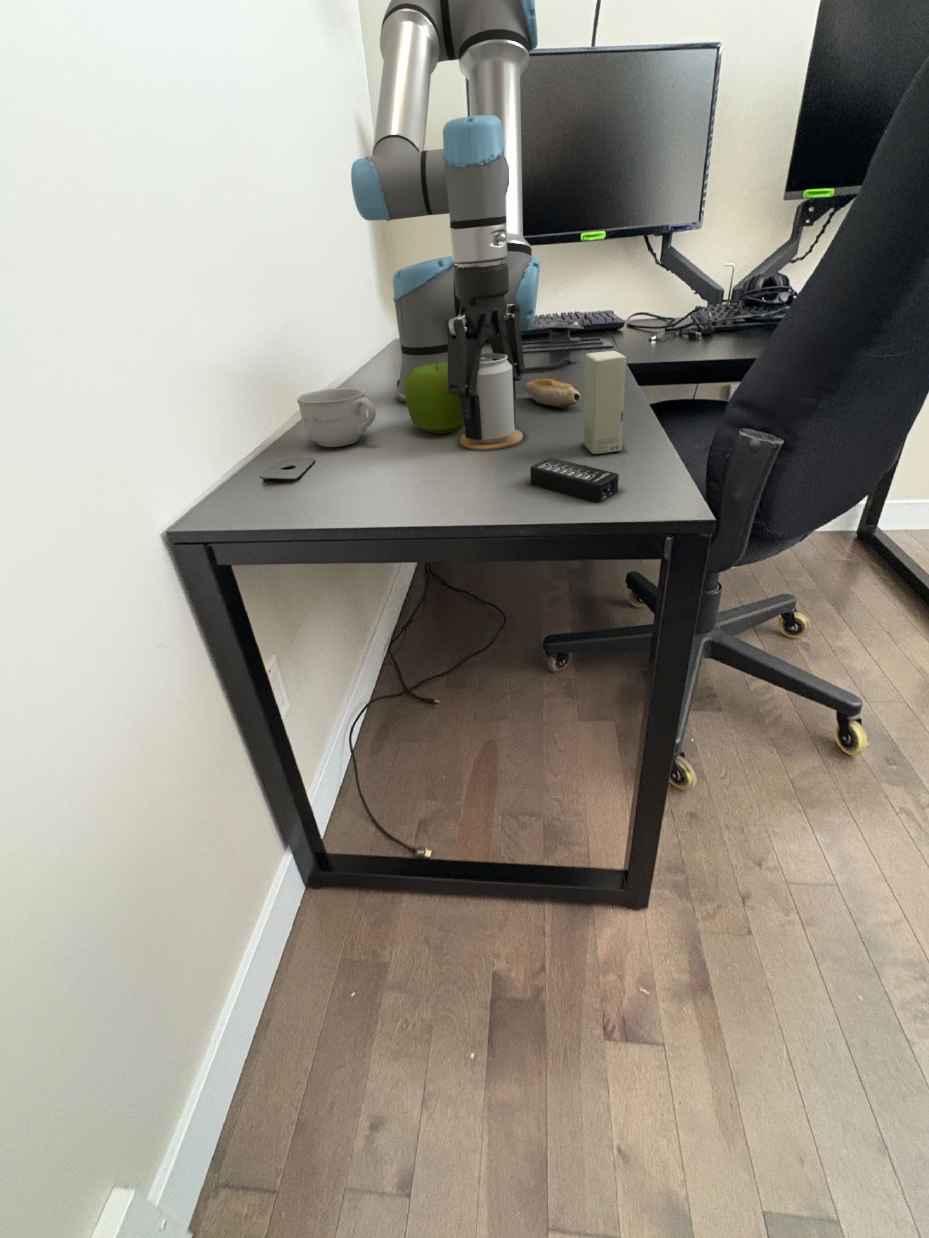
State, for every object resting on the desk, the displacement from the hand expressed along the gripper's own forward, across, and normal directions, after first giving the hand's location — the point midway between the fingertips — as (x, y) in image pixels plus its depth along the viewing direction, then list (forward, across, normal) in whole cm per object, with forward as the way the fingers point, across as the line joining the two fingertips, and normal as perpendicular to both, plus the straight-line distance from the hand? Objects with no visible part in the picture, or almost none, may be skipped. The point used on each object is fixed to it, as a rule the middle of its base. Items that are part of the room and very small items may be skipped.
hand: (490, 430), depth 95 cm
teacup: (+2, -14, +21) cm, 25 cm away
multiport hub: (+2, -9, -22) cm, 24 cm away
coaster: (+1, 0, 0) cm, 1 cm away
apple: (+2, 0, +11) cm, 11 cm away
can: (+1, 0, 0) cm, 1 cm away
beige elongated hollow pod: (+2, +20, +3) cm, 20 cm away
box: (+2, +5, -17) cm, 18 cm away
